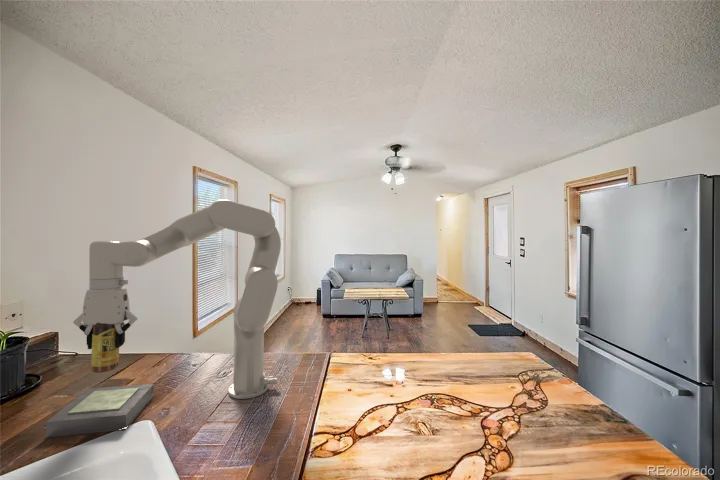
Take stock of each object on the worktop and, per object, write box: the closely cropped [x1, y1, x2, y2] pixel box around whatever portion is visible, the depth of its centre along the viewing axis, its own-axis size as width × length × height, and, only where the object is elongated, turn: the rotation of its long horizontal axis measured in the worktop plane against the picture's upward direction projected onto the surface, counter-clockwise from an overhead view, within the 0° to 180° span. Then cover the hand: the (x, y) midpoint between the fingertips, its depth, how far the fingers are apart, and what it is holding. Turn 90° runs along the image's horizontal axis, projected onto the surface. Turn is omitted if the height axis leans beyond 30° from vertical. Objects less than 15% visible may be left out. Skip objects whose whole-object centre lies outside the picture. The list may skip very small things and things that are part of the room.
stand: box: [45, 383, 155, 438], centre depth 93 cm, size 18×18×4 cm
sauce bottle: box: [90, 323, 120, 374], centre depth 93 cm, size 6×6×20 cm
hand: (106, 346), depth 93 cm, fingers closed on sauce bottle, 6 cm apart
